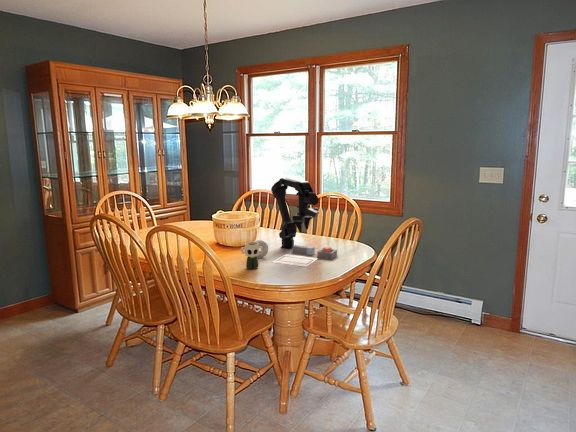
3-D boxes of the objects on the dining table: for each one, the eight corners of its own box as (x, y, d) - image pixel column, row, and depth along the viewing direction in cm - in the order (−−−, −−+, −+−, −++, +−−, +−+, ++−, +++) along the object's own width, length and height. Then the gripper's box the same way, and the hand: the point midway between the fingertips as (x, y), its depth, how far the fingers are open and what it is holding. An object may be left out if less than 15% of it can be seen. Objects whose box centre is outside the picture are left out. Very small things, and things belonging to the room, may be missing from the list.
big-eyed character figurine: (242, 270, 212) (241, 245, 210) (241, 266, 219) (240, 242, 217) (263, 269, 214) (263, 244, 212) (262, 265, 221) (261, 241, 219)
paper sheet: (271, 262, 227) (271, 261, 227) (285, 254, 242) (285, 254, 242) (306, 266, 218) (306, 266, 218) (318, 258, 233) (318, 258, 233)
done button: (321, 254, 236) (321, 248, 235) (324, 252, 240) (324, 246, 239) (329, 255, 234) (329, 249, 233) (332, 253, 238) (332, 247, 237)
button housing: (317, 257, 235) (317, 251, 234) (322, 253, 242) (322, 248, 242) (331, 259, 231) (331, 253, 231) (336, 255, 239) (337, 249, 238)
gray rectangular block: (292, 252, 245) (292, 246, 244) (295, 251, 249) (295, 244, 248) (312, 255, 240) (312, 248, 239) (314, 253, 243) (314, 246, 243)
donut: (268, 256, 238) (268, 239, 236) (268, 258, 234) (268, 240, 233) (250, 257, 236) (249, 239, 234) (250, 259, 233) (250, 241, 231)
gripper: (310, 206, 228) (310, 235, 230) (322, 202, 244) (322, 228, 247) (291, 205, 232) (291, 233, 235) (304, 201, 249) (305, 227, 252)
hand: (303, 230), depth 242 cm, fingers open, 9 cm apart
